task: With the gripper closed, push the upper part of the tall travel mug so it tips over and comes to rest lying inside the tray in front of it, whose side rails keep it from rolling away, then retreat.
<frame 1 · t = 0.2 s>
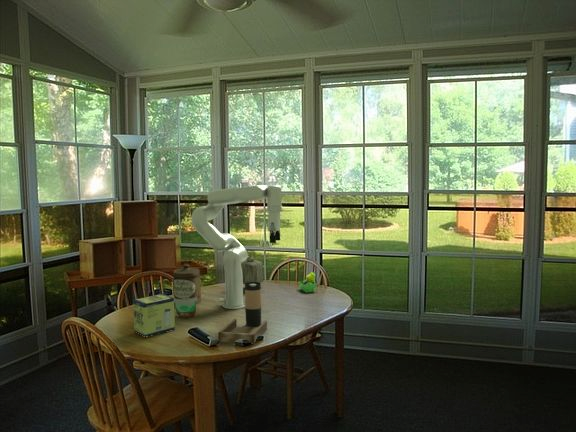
hand: (275, 241, 251), 36 cm above the table, tool pointing down, fingers open, 9 cm apart
food container: (186, 317, 241), on the table
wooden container: (187, 302, 270), on the table
protein box: (154, 332, 220), on the table
tray: (243, 335, 213), on the table
travel mug: (253, 325, 228), on the table
fruit basket: (308, 290, 294), on the table
tabletop clock: (250, 289, 298), on the table
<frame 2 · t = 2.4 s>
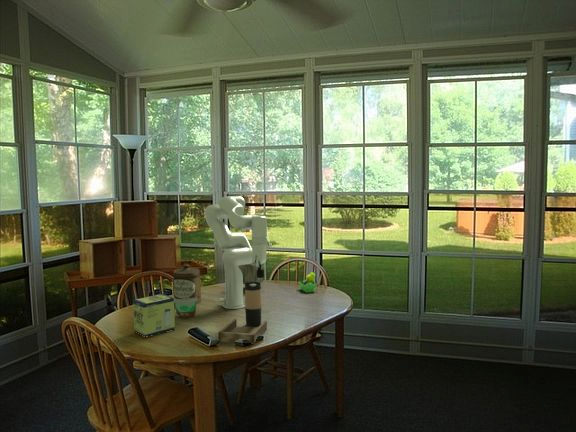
hand: (260, 277, 237), 21 cm above the table, tool pointing down, fingers closed
nothing on the table moved.
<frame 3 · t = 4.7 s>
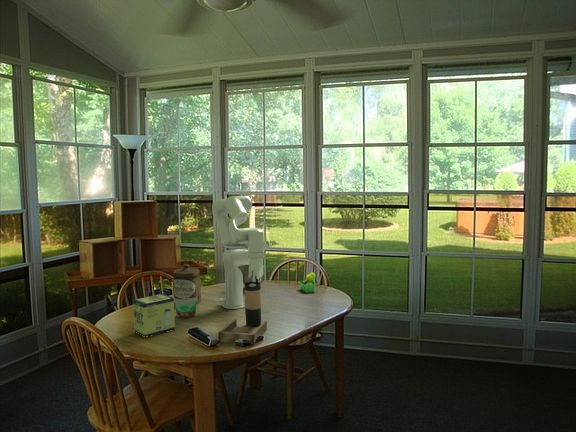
hand: (257, 292, 233), 14 cm above the table, tool pointing down, fingers closed
nothing on the table moved.
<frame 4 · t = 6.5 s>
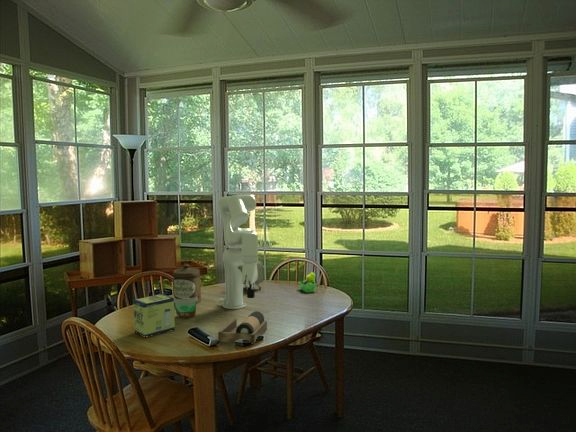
hand: (250, 297, 223), 14 cm above the table, tool pointing down, fingers closed
travel mug: (257, 318, 224), point 4 cm above the table, touching tray
everything else where it was.
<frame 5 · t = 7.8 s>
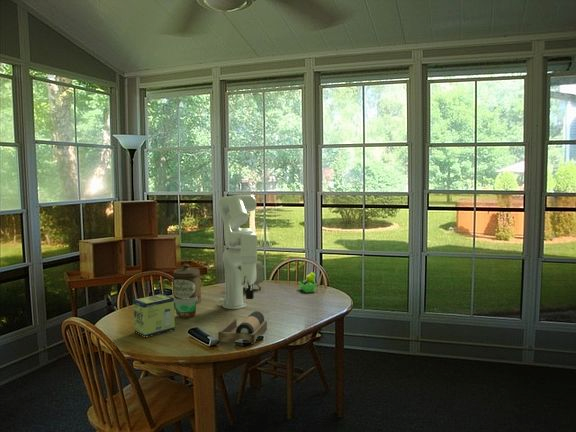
hand: (249, 298, 222), 14 cm above the table, tool pointing down, fingers closed
nothing on the table moved.
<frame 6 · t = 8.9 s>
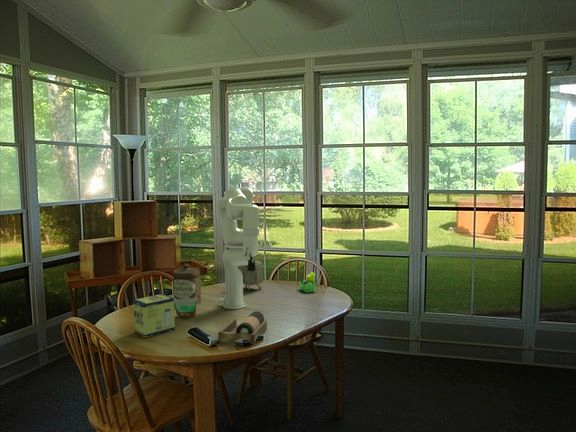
hand: (251, 270, 225), 27 cm above the table, tool pointing down, fingers closed
nothing on the table moved.
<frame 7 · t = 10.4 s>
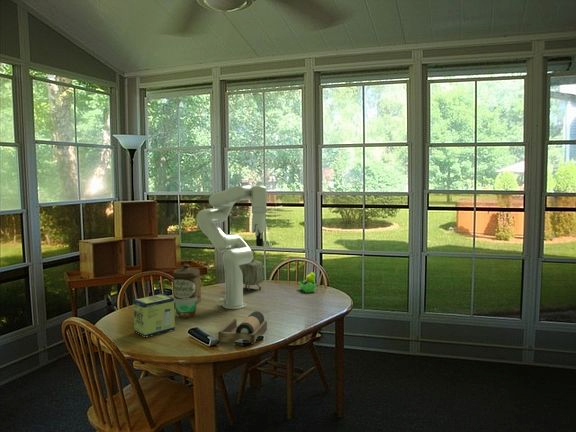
hand: (259, 246, 244), 35 cm above the table, tool pointing down, fingers closed
nothing on the table moved.
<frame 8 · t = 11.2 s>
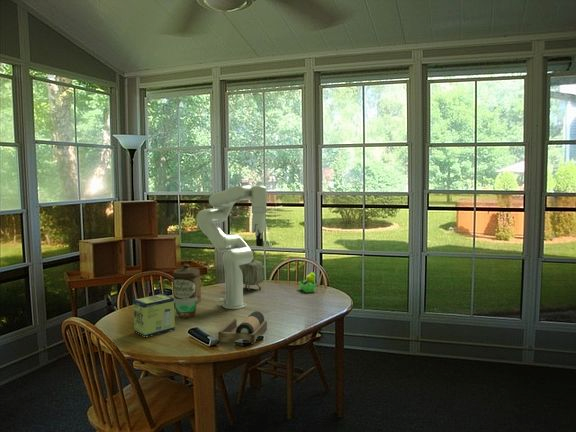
hand: (259, 246, 244), 35 cm above the table, tool pointing down, fingers closed
nothing on the table moved.
at the end: travel mug tilted 90°; travel mug inside the target area (8.8 cm from its centre), point 4.3 cm above the table; the gripper is holding nothing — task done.
